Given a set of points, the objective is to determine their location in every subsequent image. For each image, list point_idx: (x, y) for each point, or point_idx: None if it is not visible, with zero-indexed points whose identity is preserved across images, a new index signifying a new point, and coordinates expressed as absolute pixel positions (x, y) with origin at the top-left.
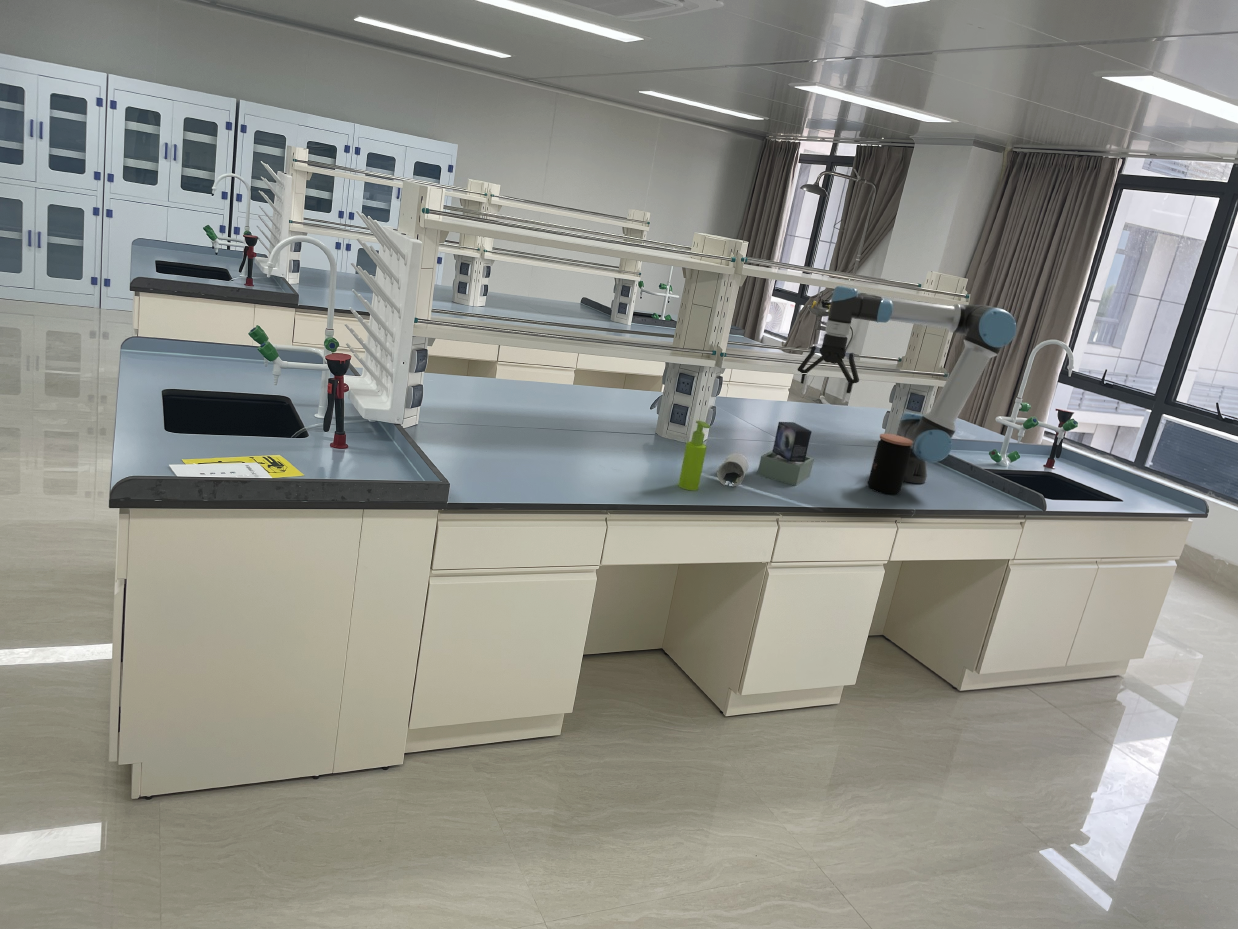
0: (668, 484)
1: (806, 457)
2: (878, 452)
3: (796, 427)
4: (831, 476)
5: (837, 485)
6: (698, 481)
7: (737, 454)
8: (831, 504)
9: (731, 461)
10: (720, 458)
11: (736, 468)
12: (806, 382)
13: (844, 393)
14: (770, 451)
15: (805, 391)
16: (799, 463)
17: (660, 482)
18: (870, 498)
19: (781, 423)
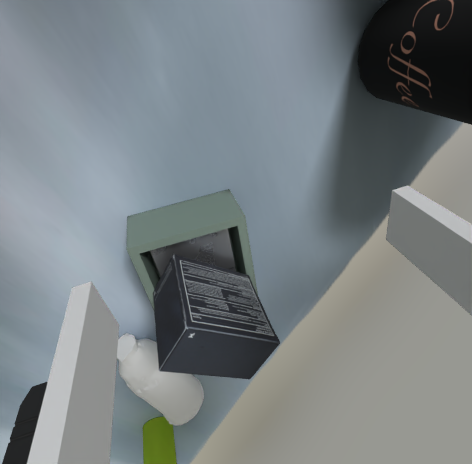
0: (138, 440)
1: (226, 228)
2: (446, 111)
3: (234, 363)
4: (253, 89)
5: (294, 159)
6: (173, 434)
7: (154, 396)
8: (322, 282)
9: (182, 422)
10: (17, 293)
11: (126, 334)
12: (101, 404)
13: (443, 282)
14: (148, 294)
15: (95, 304)
16: (229, 264)
17: (127, 445)
18: (373, 167)
19: (176, 372)
